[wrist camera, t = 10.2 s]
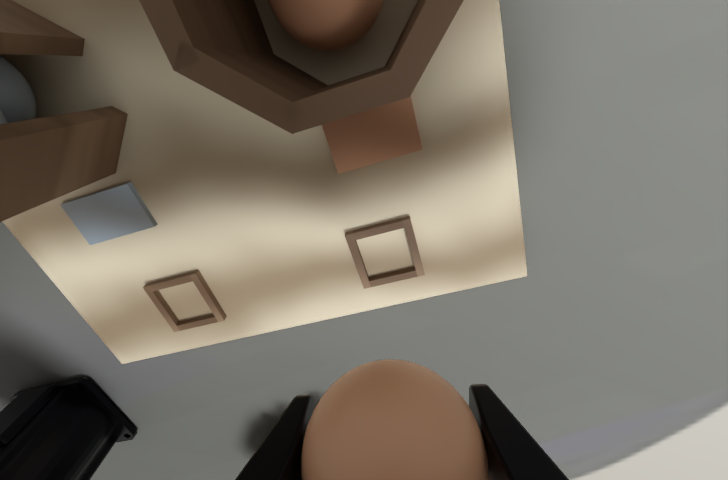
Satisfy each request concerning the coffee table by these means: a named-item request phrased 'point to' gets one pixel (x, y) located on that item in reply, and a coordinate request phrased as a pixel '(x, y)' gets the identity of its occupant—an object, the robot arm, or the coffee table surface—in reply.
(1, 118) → the slate-blue ball
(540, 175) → the coffee table surface
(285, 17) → the terracotta ball in tube
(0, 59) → the slate-blue ball in tube
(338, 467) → the terracotta ball
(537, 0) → the coffee table surface
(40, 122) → the cream wooden tray
